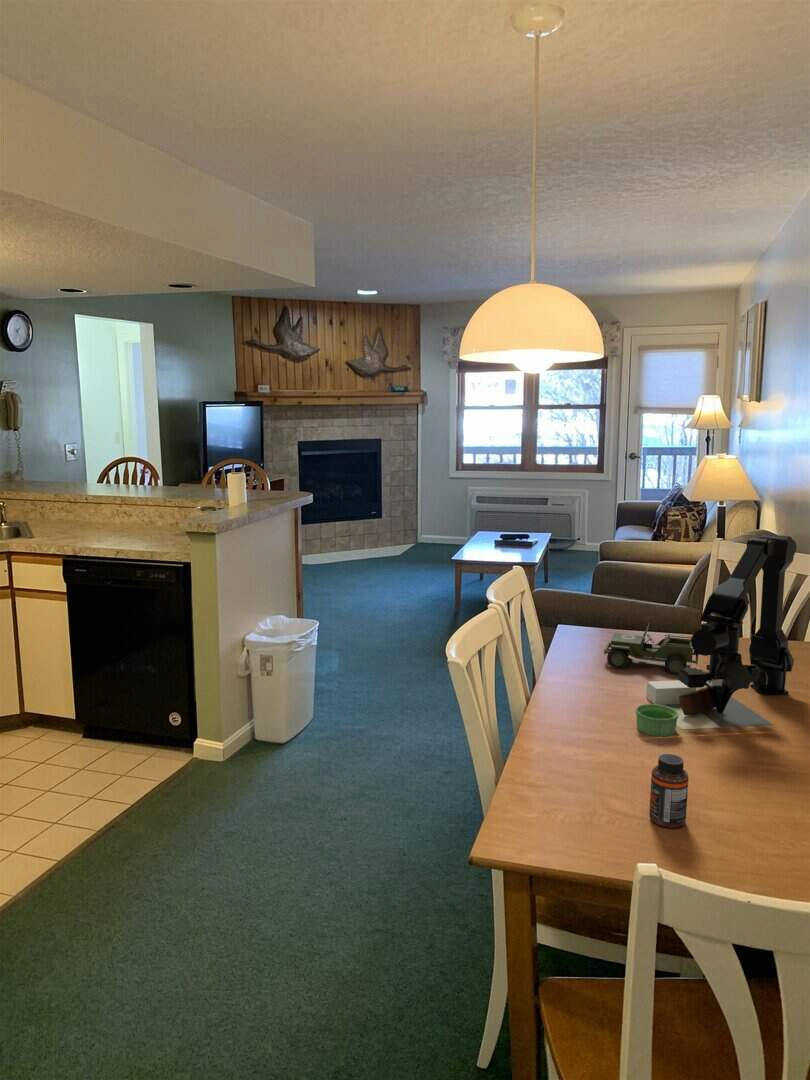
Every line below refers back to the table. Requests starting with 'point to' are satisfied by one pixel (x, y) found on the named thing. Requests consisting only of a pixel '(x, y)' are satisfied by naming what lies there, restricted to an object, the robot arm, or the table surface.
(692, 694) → the brick
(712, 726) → the grey mat
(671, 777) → the supplement bottle
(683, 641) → the toy jeep
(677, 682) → the block
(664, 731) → the ramekin
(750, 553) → the robot arm
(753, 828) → the table surface
